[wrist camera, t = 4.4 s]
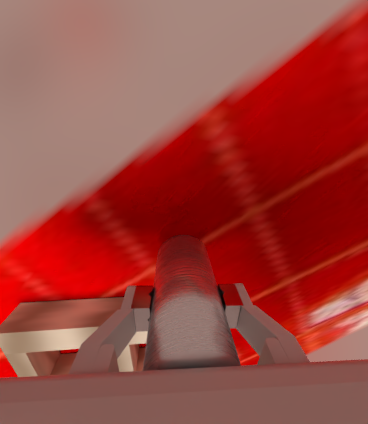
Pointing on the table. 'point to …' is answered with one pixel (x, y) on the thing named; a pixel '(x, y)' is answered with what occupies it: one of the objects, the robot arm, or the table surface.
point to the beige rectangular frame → (60, 335)
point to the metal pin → (187, 311)
